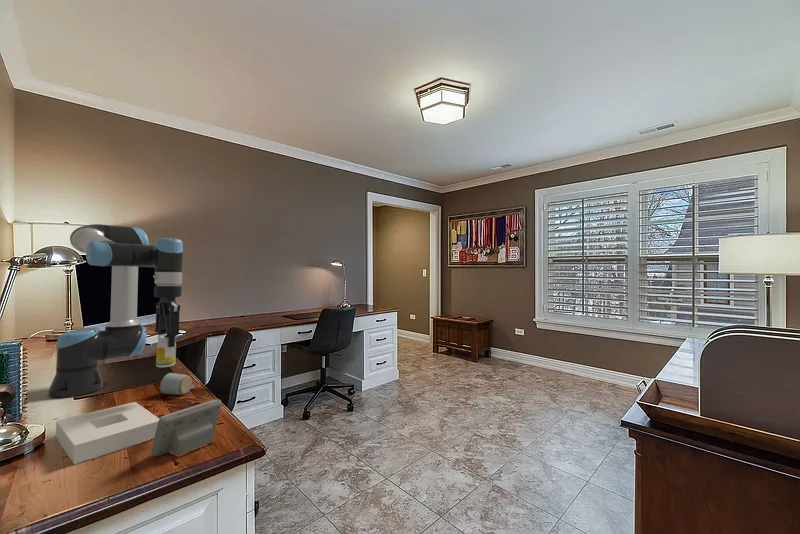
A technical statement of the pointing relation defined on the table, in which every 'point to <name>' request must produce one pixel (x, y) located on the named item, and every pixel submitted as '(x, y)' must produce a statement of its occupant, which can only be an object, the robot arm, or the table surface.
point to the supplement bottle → (163, 355)
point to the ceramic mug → (176, 384)
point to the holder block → (105, 431)
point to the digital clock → (186, 429)
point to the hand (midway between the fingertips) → (166, 355)
